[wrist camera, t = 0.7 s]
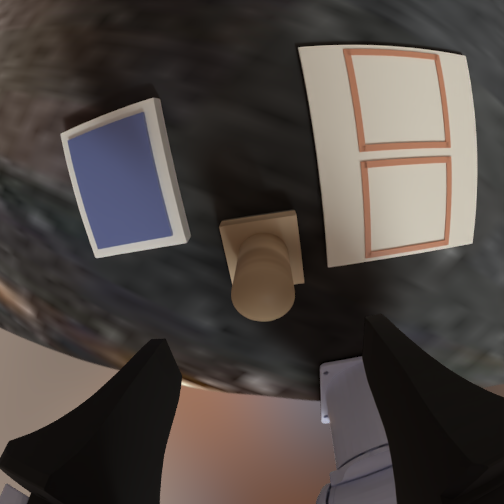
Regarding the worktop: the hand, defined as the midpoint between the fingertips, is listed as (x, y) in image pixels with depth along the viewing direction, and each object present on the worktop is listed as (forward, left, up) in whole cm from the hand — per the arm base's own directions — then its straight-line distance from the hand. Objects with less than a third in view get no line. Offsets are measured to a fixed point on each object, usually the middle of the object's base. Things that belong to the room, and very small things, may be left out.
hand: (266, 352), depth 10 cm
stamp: (0, 0, -10) cm, 10 cm away
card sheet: (+5, -10, -10) cm, 15 cm away
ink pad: (+6, +8, -10) cm, 14 cm away
